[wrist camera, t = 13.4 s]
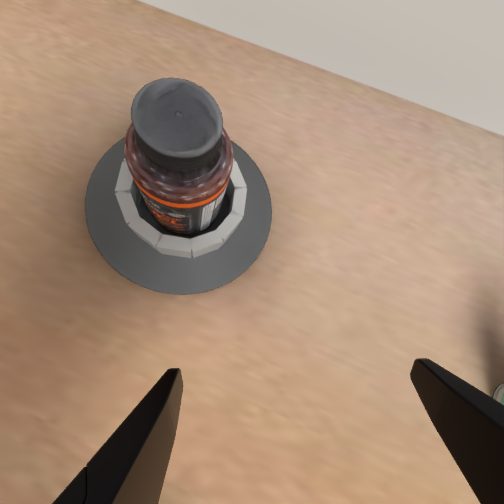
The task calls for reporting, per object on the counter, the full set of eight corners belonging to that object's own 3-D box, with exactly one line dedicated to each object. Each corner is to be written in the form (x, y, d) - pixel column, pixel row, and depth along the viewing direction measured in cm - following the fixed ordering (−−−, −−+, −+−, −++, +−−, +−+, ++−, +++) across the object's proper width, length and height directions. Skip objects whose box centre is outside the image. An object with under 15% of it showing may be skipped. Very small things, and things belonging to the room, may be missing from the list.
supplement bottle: (136, 215, 20) (68, 122, 9) (174, 162, 22) (153, 31, 11) (198, 250, 21) (202, 201, 10) (231, 197, 23) (264, 104, 12)
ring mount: (127, 325, 20) (110, 332, 16) (64, 151, 21) (35, 119, 17) (293, 256, 24) (311, 248, 20) (233, 116, 25) (239, 84, 21)
